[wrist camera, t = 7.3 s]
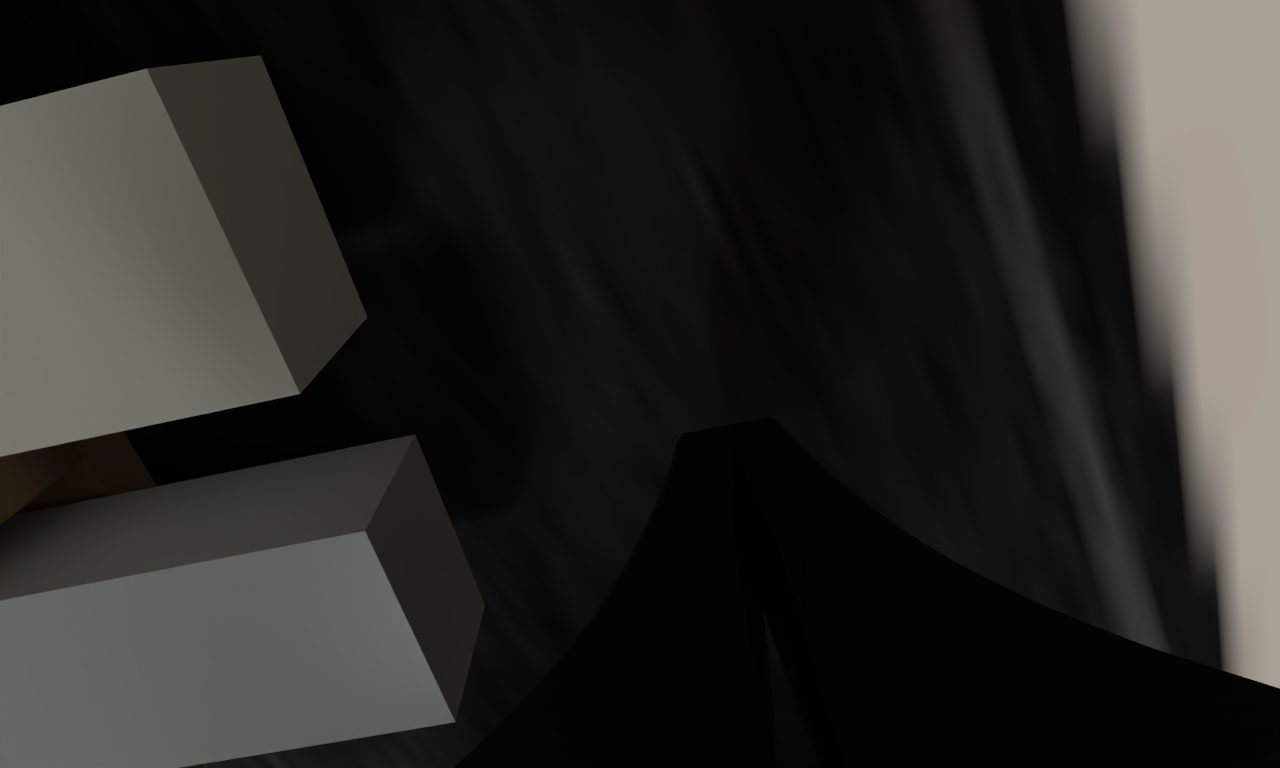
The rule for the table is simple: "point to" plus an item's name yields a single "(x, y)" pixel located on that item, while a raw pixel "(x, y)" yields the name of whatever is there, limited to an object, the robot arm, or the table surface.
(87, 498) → the walnut key block
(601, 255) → the table surface
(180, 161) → the off-white rectangular box
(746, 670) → the robot arm
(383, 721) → the light grey rectangular block
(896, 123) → the table surface
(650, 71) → the table surface
